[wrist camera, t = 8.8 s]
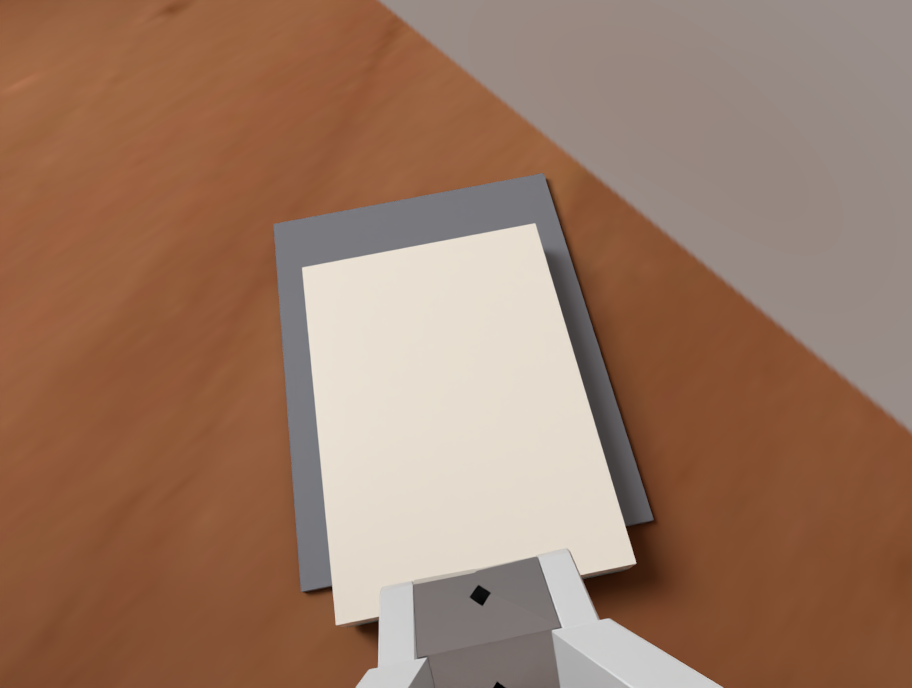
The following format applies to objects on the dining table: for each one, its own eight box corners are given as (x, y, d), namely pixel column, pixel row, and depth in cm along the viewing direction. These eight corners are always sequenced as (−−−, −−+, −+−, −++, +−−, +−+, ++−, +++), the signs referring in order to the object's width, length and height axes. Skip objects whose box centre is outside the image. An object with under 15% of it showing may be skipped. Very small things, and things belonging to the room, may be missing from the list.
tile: (636, 563, 21) (535, 223, 27) (335, 625, 21) (301, 267, 27) (626, 570, 23) (533, 247, 29) (347, 627, 23) (313, 289, 29)
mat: (652, 521, 24) (653, 519, 23) (303, 592, 23) (300, 591, 23) (543, 177, 31) (543, 173, 31) (275, 227, 31) (273, 224, 30)
